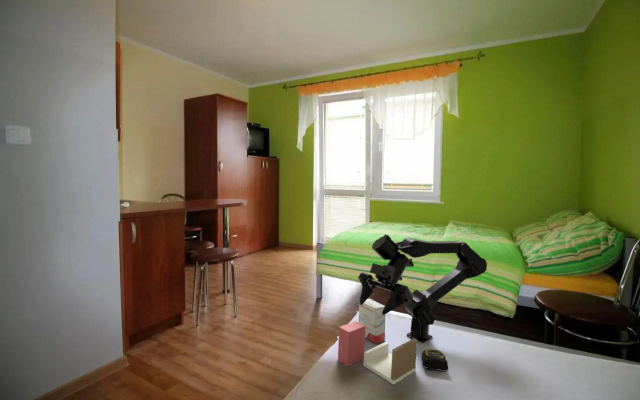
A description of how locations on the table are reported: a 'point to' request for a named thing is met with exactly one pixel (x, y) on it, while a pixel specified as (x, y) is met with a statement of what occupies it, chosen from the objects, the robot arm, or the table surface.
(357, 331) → the book
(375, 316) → the ink box
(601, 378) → the table surface
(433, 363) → the tape measure
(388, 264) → the robot arm
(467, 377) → the table surface
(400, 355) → the book rack
